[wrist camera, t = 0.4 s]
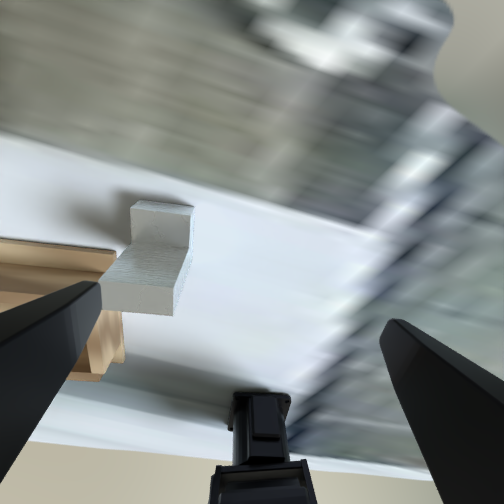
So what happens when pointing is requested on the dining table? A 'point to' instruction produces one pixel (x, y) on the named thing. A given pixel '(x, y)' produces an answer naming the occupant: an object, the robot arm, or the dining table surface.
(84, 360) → the light wood shallow box
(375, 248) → the dining table surface
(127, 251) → the bracket
